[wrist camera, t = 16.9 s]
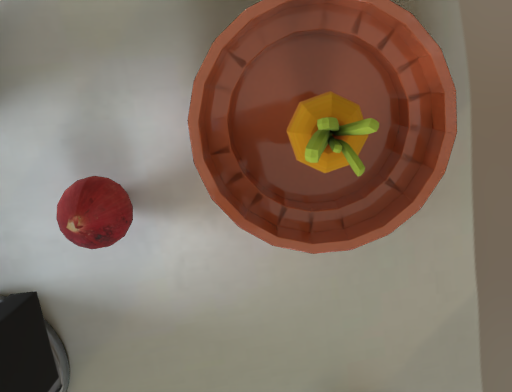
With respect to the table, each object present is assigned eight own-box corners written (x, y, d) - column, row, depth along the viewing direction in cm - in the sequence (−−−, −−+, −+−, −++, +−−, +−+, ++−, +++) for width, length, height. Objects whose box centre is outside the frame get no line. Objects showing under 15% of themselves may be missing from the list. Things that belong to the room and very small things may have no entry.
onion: (157, 208, 40) (128, 237, 33) (109, 244, 41) (69, 280, 34) (115, 156, 40) (75, 173, 32) (67, 194, 41) (17, 219, 33)
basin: (220, 237, 41) (208, 264, 34) (188, 19, 37) (169, 4, 30) (430, 215, 39) (459, 239, 33) (422, -13, 35) (453, -36, 29)
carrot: (347, 92, 37) (392, 93, 22) (342, 153, 38) (382, 193, 23) (286, 89, 37) (290, 89, 22) (283, 150, 38) (284, 188, 23)
